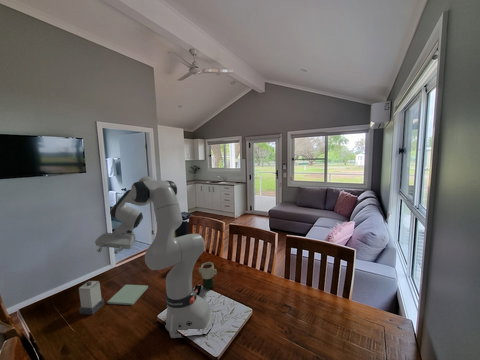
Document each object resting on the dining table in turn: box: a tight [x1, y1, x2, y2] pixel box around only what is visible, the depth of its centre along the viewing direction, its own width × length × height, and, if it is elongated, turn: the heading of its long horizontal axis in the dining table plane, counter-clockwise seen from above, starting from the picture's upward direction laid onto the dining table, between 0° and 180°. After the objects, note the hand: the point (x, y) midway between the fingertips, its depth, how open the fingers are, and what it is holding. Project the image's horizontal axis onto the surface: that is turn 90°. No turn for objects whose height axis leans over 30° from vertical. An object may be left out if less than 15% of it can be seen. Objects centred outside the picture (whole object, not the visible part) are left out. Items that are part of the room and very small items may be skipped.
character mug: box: [198, 261, 218, 290], centre depth 114 cm, size 11×7×13 cm, turn 77°
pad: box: [107, 284, 149, 306], centre depth 109 cm, size 14×14×1 cm
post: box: [78, 298, 105, 316], centre depth 100 cm, size 7×7×9 cm
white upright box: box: [78, 280, 103, 308], centre depth 99 cm, size 6×6×11 cm
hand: (107, 252), depth 111 cm, fingers open, 8 cm apart
